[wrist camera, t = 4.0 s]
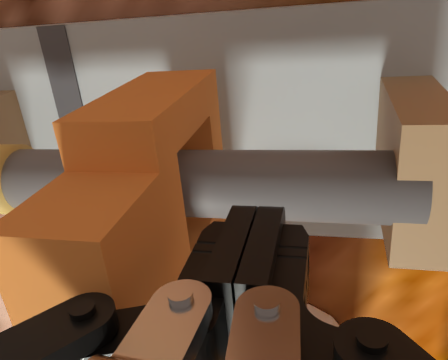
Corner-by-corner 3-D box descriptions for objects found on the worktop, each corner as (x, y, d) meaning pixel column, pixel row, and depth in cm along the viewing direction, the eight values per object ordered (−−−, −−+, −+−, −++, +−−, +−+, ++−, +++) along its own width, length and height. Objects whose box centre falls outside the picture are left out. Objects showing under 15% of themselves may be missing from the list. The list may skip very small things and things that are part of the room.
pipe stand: (463, -8, 17) (553, 6, 10) (430, 230, 22) (477, 354, 15) (-38, 30, 23) (-203, 56, 16) (20, 212, 27) (-87, 295, 20)
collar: (215, 68, 17) (83, 176, 8) (229, 218, 20) (142, 421, 11) (147, 72, 18) (-45, 174, 9) (169, 215, 21) (42, 404, 12)
